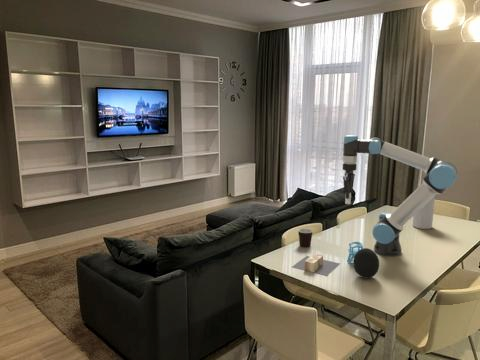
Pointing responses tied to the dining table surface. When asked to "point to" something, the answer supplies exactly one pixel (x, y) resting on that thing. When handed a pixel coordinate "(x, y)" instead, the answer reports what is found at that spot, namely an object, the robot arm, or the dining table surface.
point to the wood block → (313, 263)
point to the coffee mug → (305, 237)
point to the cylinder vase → (424, 216)
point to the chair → (353, 251)
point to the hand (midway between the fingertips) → (347, 203)
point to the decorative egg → (366, 263)
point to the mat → (322, 270)
